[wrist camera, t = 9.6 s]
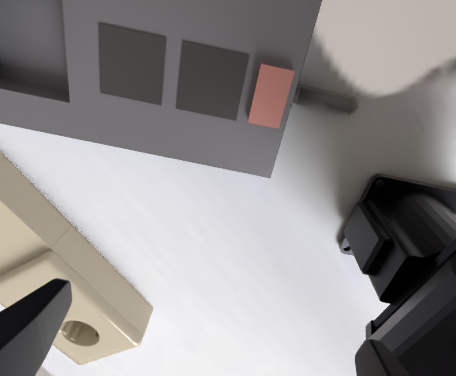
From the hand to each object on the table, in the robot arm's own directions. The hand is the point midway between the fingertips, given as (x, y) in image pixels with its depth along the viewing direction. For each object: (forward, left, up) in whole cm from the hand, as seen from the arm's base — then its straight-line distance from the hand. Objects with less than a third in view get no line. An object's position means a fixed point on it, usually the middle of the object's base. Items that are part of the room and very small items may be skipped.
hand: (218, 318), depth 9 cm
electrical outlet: (+13, +12, -13) cm, 22 cm away
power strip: (+6, -5, -12) cm, 14 cm away
